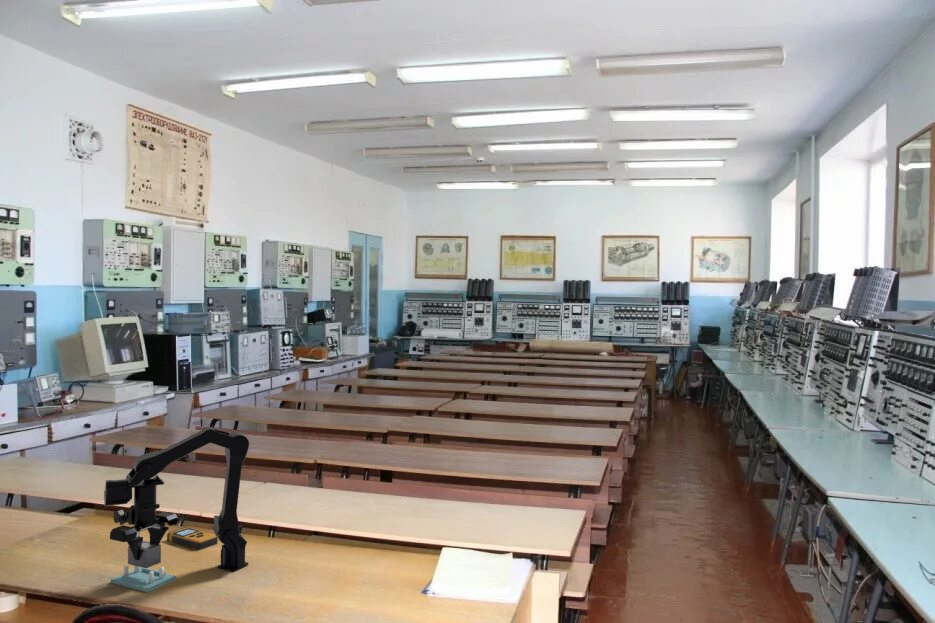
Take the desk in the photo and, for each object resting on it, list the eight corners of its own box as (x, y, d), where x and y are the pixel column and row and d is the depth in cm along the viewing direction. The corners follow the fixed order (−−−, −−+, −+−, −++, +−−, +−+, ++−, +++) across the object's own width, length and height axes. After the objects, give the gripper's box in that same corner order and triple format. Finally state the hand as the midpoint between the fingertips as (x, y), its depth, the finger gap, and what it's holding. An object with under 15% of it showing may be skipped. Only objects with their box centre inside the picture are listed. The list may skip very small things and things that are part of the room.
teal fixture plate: (176, 579, 205) (176, 565, 205) (147, 592, 196) (147, 577, 196) (140, 570, 211) (140, 556, 211) (110, 582, 202) (110, 568, 202)
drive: (160, 562, 204) (160, 544, 204) (146, 568, 200) (146, 550, 200) (142, 558, 207) (142, 540, 207) (127, 564, 203) (128, 545, 202)
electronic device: (198, 552, 228) (198, 542, 228) (165, 542, 236) (165, 532, 236) (219, 544, 235) (219, 534, 235) (187, 535, 243) (187, 525, 243)
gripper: (151, 489, 215) (150, 542, 215) (95, 505, 198) (95, 562, 198) (179, 494, 210) (178, 548, 211) (125, 511, 193) (124, 570, 194)
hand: (144, 556), depth 203 cm, fingers closed on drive, 5 cm apart
